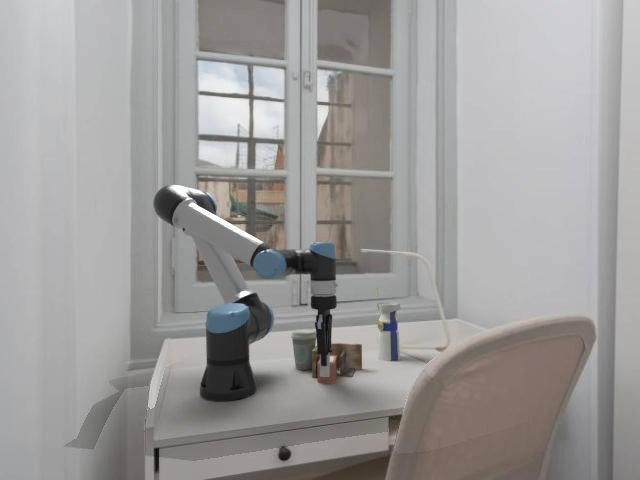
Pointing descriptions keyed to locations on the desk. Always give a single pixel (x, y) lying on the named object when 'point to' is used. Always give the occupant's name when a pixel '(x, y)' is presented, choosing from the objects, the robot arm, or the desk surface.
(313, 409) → the desk surface
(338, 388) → the desk surface
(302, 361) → the coffee cup
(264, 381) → the desk surface
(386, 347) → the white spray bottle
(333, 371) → the red box
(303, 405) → the desk surface
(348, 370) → the shelf
